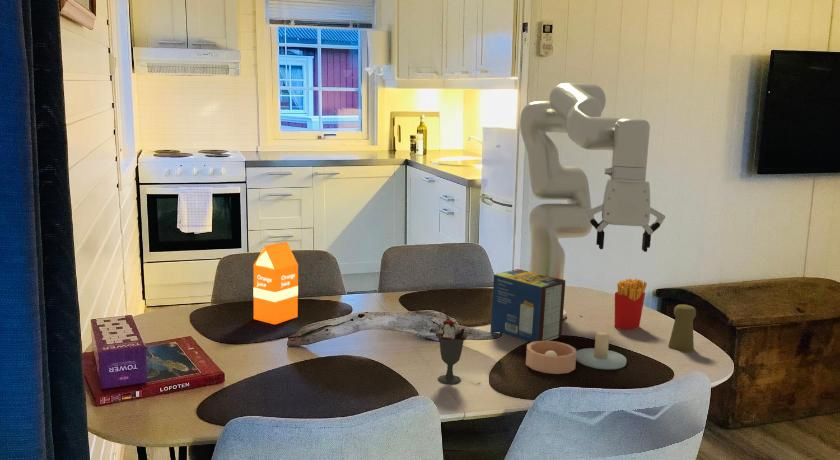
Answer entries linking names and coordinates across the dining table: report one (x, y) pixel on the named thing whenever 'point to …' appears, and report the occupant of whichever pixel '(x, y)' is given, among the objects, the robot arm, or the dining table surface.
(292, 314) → the orange juice
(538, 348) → the bowl
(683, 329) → the cork
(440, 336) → the sundae
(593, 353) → the lid
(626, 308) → the french fries
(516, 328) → the protein box
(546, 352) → the egg
